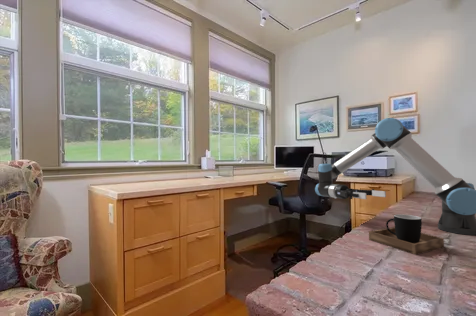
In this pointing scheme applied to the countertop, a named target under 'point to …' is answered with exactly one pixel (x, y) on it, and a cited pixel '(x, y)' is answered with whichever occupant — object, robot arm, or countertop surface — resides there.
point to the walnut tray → (391, 240)
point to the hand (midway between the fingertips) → (375, 195)
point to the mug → (406, 227)
